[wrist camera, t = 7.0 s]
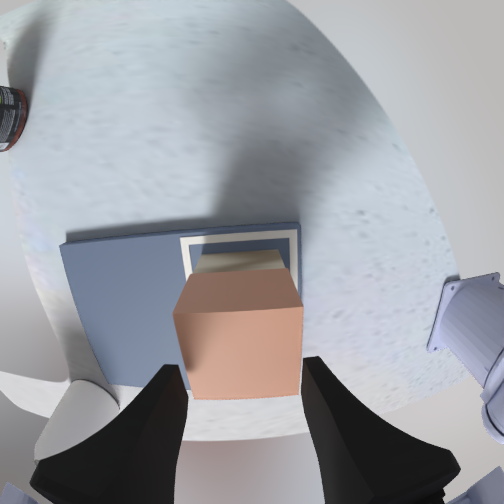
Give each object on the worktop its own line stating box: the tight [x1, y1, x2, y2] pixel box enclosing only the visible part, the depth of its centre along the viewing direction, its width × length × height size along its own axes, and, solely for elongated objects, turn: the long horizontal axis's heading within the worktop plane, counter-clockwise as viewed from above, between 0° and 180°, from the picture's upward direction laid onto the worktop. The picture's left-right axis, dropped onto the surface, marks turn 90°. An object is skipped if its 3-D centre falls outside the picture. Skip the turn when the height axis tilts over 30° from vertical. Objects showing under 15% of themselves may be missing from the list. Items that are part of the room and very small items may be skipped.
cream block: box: [193, 249, 285, 274], centre depth 17 cm, size 5×5×4 cm
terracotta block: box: [172, 268, 304, 400], centre depth 13 cm, size 5×5×4 cm
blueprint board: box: [59, 222, 301, 390], centre depth 20 cm, size 18×14×1 cm
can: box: [33, 380, 119, 466], centre depth 18 cm, size 6×6×12 cm
